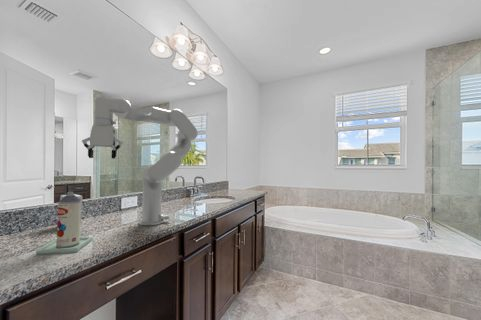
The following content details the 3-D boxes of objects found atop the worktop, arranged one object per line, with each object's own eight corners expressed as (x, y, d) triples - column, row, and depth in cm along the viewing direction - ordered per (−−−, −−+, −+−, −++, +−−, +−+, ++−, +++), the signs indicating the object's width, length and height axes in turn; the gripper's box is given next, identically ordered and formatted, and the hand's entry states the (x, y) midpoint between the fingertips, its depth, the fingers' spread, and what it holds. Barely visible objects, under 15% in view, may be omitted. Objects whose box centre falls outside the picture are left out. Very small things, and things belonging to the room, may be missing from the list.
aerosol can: (51, 246, 77) (54, 192, 78) (72, 240, 84) (74, 190, 84) (63, 249, 75) (65, 193, 75) (83, 243, 81) (85, 191, 82)
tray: (92, 240, 86) (92, 236, 86) (77, 252, 74) (77, 247, 74) (57, 242, 83) (57, 238, 83) (35, 255, 71) (36, 250, 72)
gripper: (125, 125, 108) (124, 158, 108) (86, 123, 104) (85, 158, 104) (120, 122, 101) (119, 158, 100) (79, 120, 97) (77, 157, 96)
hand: (102, 158), depth 102 cm, fingers open, 9 cm apart
